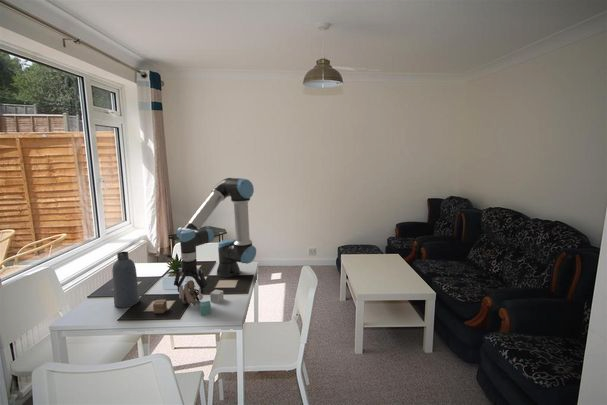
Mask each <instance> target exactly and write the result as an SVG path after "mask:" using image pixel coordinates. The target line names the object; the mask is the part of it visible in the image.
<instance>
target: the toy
mask: <svg viewBox="0 0 607 405" xmlns="http://www.w3.org/2000/svg"><path fill="white" fill-rule="evenodd" d="M184 283H185V284H184V286H183V293H182V298H181V302H182V303H183V304H186V302H185V301H187V303H188V304H189V305H192V306H196V304H197V303H199V302H200V300H199V289H196V286H195V281H194V280H193V279H190V280H188V281H186V280H184Z"/></svg>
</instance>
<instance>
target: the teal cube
mask: <svg viewBox="0 0 607 405" xmlns="http://www.w3.org/2000/svg"><path fill="white" fill-rule="evenodd" d="M199 311H200V312H199V313H200V317H202V316H208V315H212V306H211V300H207V301H202V302H200V301H199Z"/></svg>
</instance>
